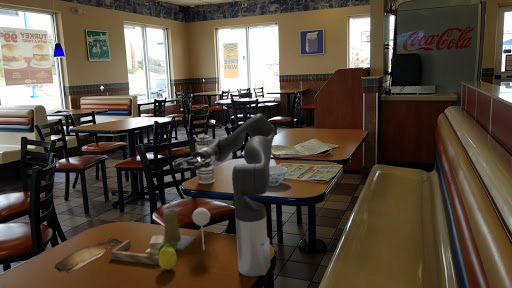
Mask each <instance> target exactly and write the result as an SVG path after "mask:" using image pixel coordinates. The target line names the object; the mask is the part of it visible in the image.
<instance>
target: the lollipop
mask: <svg viewBox="0 0 512 288" xmlns="http://www.w3.org/2000/svg"><path fill="white" fill-rule="evenodd" d="M191 218H192V221H193V222H194V224H196V226H197V225H198V226H201V239H202V240H201V241H202V250H203V251H205V239H204V228H203V226H205V225H207V224H208V223H209V222H210V219H211V213H210V212H209V210H208V209H206V208H205V207H198V208H196V210H194V211H193V213H192V215H191Z"/></svg>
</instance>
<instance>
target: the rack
mask: <svg viewBox="0 0 512 288" xmlns="http://www.w3.org/2000/svg"><path fill="white" fill-rule="evenodd" d="M171 243H173V244H175V246H176V249H173V250H174V251H175V252H176V251H178V250H177V242H170V241H166V243H165V244H171ZM131 247H132V245H131V240H130V239H126V240H124V241H122V243H120V244H119V245H118V246H116V247H115V248H113V249H112V250H111V251H110V253H111V254H110V255H111V259H112V260H119V261H126V262H133V263H141V264H148V265H149V264H150V265H157V266H158V265H159V259H158V258H159V255H158V256H156V255H147V254H145V253H137V252H130V251H129V252H128V251H127V250H129V249H130V248H131Z"/></svg>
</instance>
